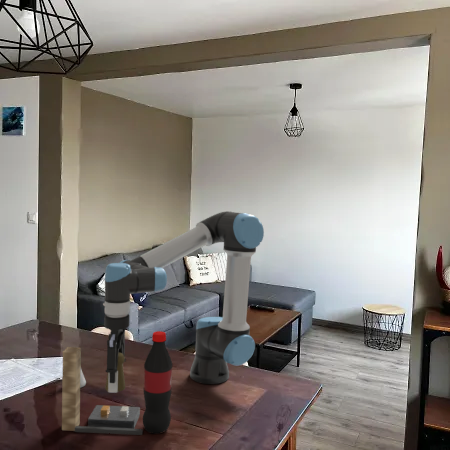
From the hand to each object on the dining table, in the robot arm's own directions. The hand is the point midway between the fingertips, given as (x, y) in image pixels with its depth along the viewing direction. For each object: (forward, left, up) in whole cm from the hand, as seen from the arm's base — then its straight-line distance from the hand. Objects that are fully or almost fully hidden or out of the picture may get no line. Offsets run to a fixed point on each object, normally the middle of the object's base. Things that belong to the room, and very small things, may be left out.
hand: (115, 387), depth 147 cm
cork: (0, 0, 0) cm, 0 cm away
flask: (+20, -24, -11) cm, 33 cm away
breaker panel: (0, 0, -11) cm, 11 cm away
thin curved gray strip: (0, +7, -11) cm, 13 cm away
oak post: (+12, +5, -11) cm, 17 cm away
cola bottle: (-14, +4, -11) cm, 18 cm away
